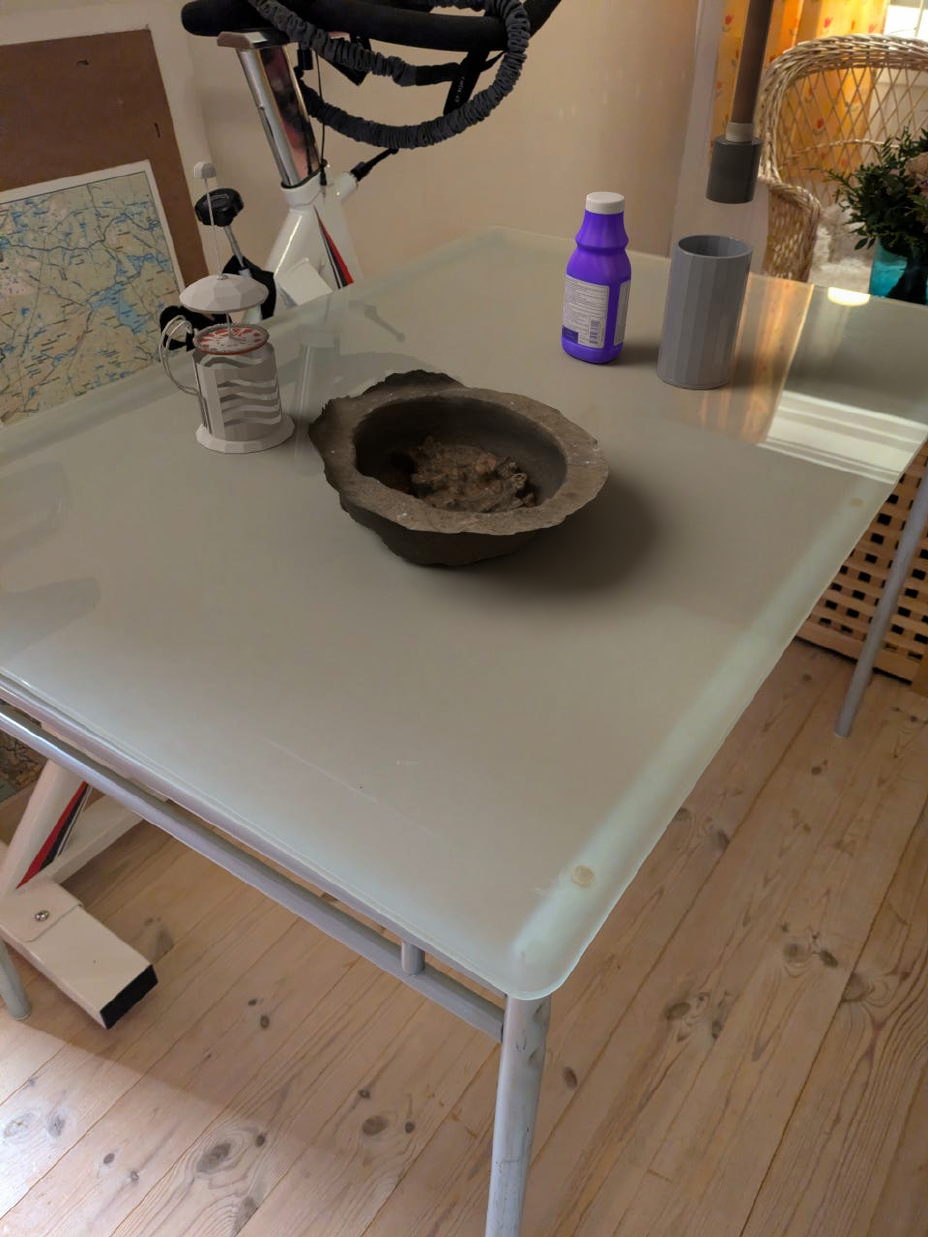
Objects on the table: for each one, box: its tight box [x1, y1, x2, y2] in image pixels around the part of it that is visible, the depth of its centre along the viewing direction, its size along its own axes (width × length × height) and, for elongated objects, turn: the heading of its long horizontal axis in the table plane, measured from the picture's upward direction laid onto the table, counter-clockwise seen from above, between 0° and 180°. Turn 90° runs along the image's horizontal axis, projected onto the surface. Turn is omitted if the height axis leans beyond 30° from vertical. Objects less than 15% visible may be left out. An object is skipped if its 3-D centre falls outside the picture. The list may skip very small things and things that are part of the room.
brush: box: [705, 0, 775, 205], centre depth 83 cm, size 4×4×22 cm
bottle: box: [560, 191, 632, 364], centre depth 105 cm, size 7×6×17 cm
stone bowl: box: [307, 368, 610, 567], centre depth 80 cm, size 25×25×9 cm
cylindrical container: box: [656, 233, 754, 390], centre depth 102 cm, size 8×8×14 cm
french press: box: [158, 160, 296, 454], centre depth 88 cm, size 10×12×25 cm
